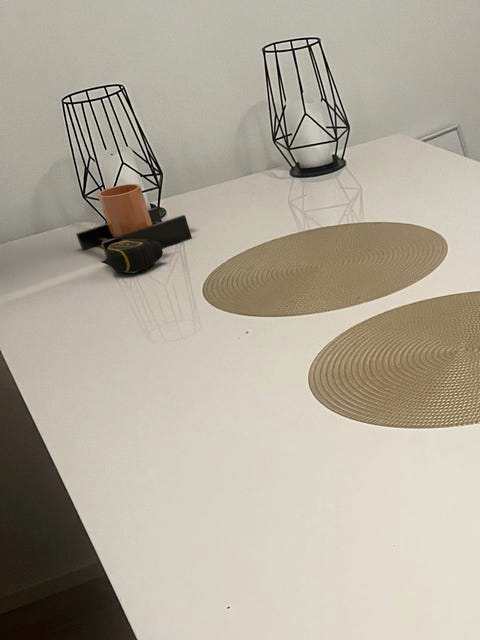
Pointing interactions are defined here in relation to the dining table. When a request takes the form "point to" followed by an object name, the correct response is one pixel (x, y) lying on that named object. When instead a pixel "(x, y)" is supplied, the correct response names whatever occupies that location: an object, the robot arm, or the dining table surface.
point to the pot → (124, 209)
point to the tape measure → (133, 254)
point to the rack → (138, 233)
